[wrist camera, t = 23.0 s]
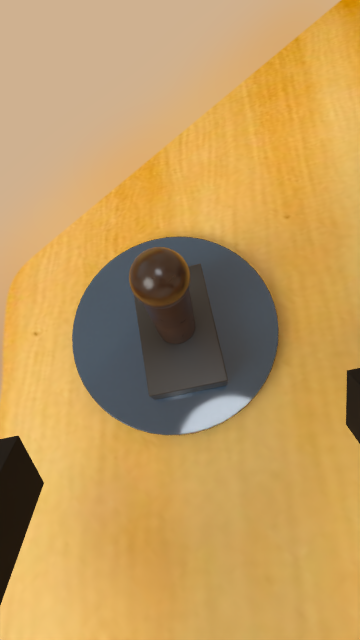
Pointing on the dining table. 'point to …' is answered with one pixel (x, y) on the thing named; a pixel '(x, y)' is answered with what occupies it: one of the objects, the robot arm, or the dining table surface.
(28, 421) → the dining table surface
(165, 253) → the stamp
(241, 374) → the plate
